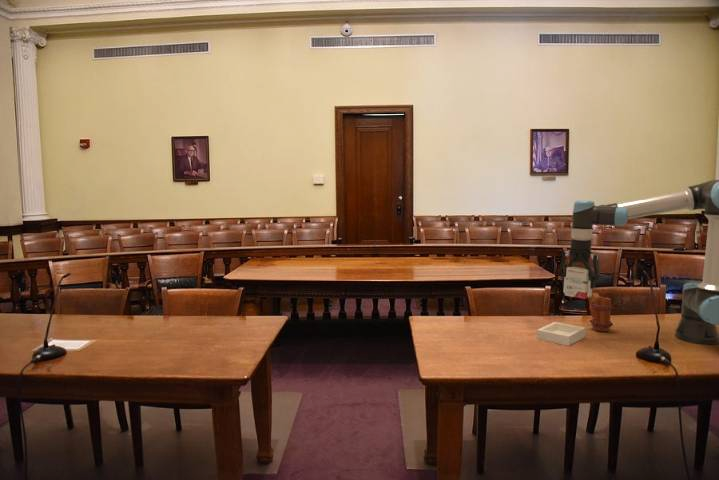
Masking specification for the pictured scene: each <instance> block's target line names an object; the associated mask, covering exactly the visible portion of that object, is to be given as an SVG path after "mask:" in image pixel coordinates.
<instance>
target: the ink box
mask: <svg viewBox="0 0 719 480" xmlns="http://www.w3.org/2000/svg"><path fill="white" fill-rule="evenodd" d="M589 280H590V277H589V275H588V270H586V268H583V267H577V266H572V267H568V268H567V270H566V284H565V293H564V296H565V297H566V296H567V297H571V298H577V299H583V300H586V299H590V297H591V296H590V297H587V292H588V281H589Z"/></svg>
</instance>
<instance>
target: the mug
mask: <svg viewBox="0 0 719 480" xmlns="http://www.w3.org/2000/svg"><path fill="white" fill-rule="evenodd" d="M588 306H589V312H590V315H591V318H592V319H589V322H590V324H591V326H592V329H593V330H594V331H595V332H596V331H597V332H602V333H603V332H608V331H610V329H611V327H613V325H614V324H613V322H612V321H611V313H612V312H611V311H613V309H614V306H613V305H612V300H611V298H610V297H604V296H600V295H599V293H598V292H592V296H590V298H589V305H588Z"/></svg>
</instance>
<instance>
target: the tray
mask: <svg viewBox="0 0 719 480" xmlns="http://www.w3.org/2000/svg"><path fill="white" fill-rule="evenodd" d="M585 337H586V327H583V326H580V325H579V326H577V325H572V324H567V323H562V322H557V321H553V322H552V323H551V322H550V323H549V324H547V325H544V326H543V327H540V328H538V329H537V330H536V340H540V341H545V342H549V343H553V344H559V345H563V346H568V347H569V346H571V345H573V344H574V343H576V342H578V341H580V340H582V339H584V338H585Z"/></svg>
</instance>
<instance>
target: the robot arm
mask: <svg viewBox="0 0 719 480" xmlns="http://www.w3.org/2000/svg"><path fill="white" fill-rule="evenodd" d="M686 209H687V210H688V211H695V210H704V213H703V214H704V216H705V217H706V218H707V220H708V224H707V235H706V245H705V253H704V263H703V271H702V281H701V282H700V283H696V282H685V283H684V284H683V287H682V288H683V289H682V292H681V293H682V295H681V296H682V297H681V298H682V299H681V311H680V312H681V314H680V315H681V316H680V319H679V322H678V323H677V326H676V328H675V330H674V337H675V338H677V339H679V340H682V341H685V342H689V343H694V344H702V345H715V344H716V345H717V344H718V343H719V330H718V328H717V326H719V179H712V180H709V181H705V182H702V183H699V184H695V185H691V186H686V187H684V188H683V189H682V190H679V191H678V190H676V191H673V192H672V191H671V192H667V193H666V192H665V193H662V194H656V195H655V194H654V195H651V196H646V197H640V198H636V199H629V200H624V201H620V202H615V203H610V204H609V203H608V204H599V205H595V201H593V200H576V201H574V203H573V211H572V223H571V234H570V235H571V239H570V250H569V251H567V250H566V251H565V250H563V251H562V252H561V260H560V263H559V266H558V270H557V274H558V275H560V276H561V284H562V285H563V290H562V291H563V293H564V294H565V284H566V270H567V268H568V267H574V264H575V263H582V264H583V266H584V267H585V269H586V270H588V275H589V277H590V280H589V281H588V292H587V297H591V296H592V293H593V289H595V288H596V281H599V280H601V271H600V265H599V258H600V255H599V254H598V253H597V254H594V253H592V251H591V250H592V237H593V226H610V227H611V226H613V227H620V226H621V227H625V225H626V224H627V223H628V220H629V219H630V220H631V219H637V218H642V217H646V216H654V215H658V214H665V213H669V212H675V211H676V212H677V211H681V210H686ZM569 256H570V257H571V258H570V260H569V263H568V264H567V261H568V257H569ZM590 258H591V260H592V265H591V264H590V263H591V262H590V260H589V259H590ZM566 264H567V265H566ZM592 266H593V269H592Z"/></svg>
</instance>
